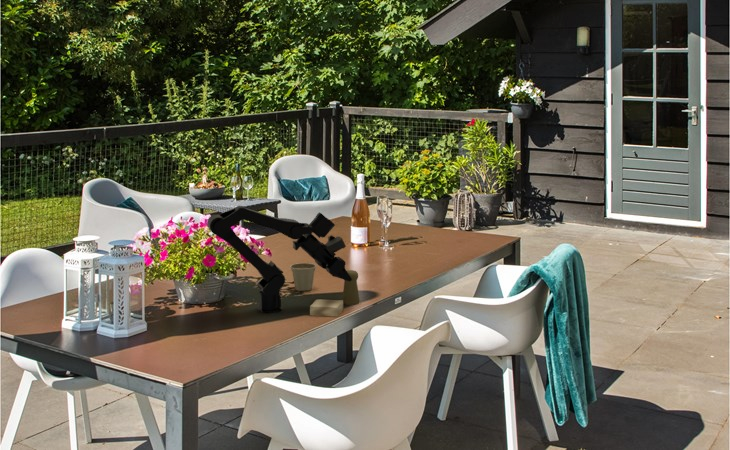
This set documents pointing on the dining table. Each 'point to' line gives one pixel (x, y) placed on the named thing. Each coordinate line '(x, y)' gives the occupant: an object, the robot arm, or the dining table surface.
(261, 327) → the dining table surface
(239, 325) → the dining table surface
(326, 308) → the beige square block
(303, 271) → the flower pot
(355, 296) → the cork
